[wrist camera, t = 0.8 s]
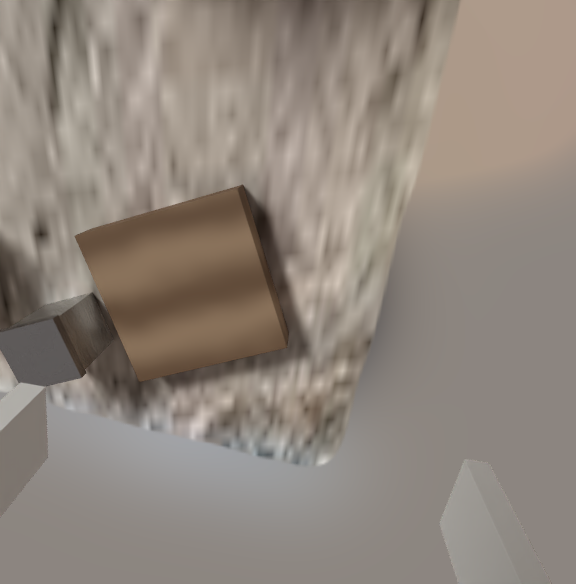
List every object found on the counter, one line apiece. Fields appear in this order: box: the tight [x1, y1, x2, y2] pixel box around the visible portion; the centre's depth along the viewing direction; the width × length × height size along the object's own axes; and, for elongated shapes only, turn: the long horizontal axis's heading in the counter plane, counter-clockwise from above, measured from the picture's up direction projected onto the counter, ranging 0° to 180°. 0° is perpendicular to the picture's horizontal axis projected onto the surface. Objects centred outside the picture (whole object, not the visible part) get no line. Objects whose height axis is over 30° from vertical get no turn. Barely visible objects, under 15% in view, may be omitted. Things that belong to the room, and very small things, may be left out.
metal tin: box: [0, 293, 113, 387], centre depth 39 cm, size 5×5×7 cm
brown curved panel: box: [75, 185, 289, 382], centre depth 39 cm, size 14×14×3 cm
